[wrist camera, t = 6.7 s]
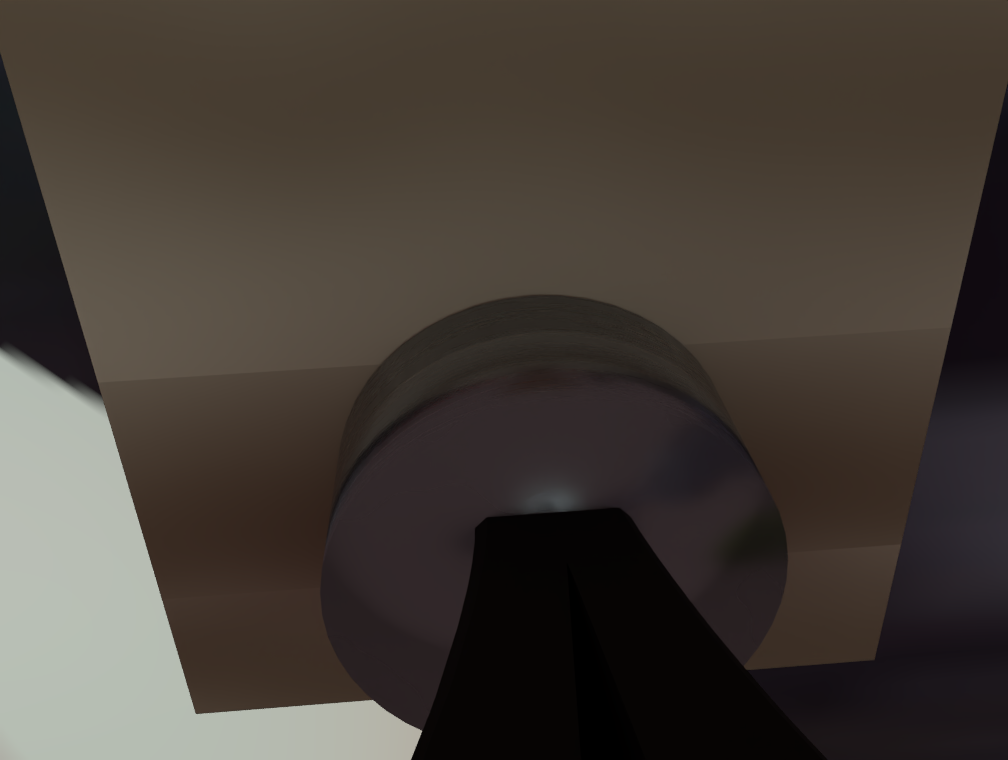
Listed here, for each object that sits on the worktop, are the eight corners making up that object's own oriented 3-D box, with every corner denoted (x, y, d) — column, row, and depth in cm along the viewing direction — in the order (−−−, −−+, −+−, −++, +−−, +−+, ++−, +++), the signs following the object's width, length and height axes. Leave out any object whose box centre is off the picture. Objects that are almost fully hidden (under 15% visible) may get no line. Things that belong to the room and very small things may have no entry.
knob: (330, 235, 11) (286, 416, 8) (698, 214, 11) (817, 381, 8) (371, 527, 13) (349, 769, 10) (676, 504, 13) (762, 735, 10)
